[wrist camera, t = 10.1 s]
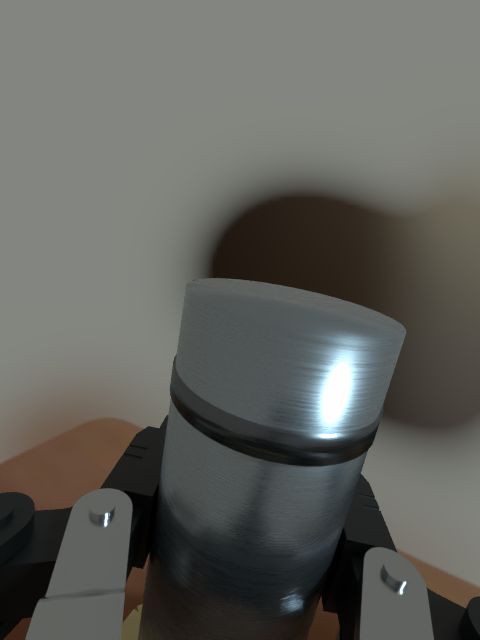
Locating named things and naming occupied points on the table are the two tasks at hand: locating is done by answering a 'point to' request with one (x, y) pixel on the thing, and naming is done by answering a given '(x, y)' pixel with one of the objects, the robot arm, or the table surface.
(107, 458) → the table surface
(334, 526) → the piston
